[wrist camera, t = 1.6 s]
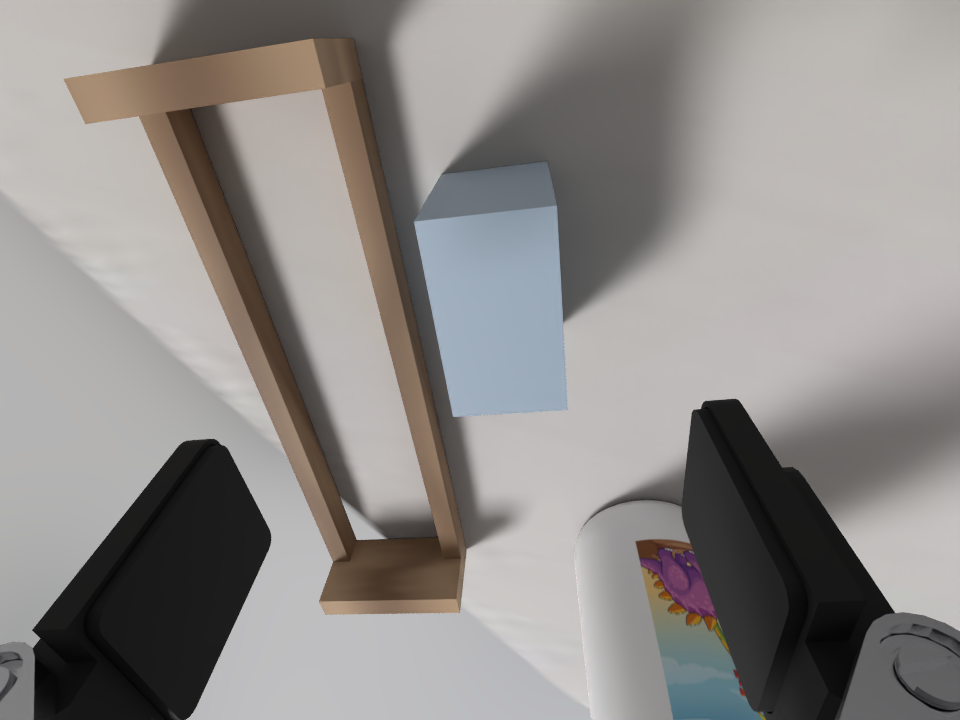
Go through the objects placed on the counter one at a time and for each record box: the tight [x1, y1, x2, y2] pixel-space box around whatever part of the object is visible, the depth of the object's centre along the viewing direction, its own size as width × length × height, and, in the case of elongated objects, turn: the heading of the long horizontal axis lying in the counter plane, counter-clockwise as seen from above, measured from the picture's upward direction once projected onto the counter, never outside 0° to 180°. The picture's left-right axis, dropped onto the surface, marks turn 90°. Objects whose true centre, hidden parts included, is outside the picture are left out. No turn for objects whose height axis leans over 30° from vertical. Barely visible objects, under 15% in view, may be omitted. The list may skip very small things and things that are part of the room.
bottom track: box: [64, 38, 466, 614], centre depth 23 cm, size 8×26×4 cm, turn 8°
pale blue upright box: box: [414, 161, 568, 417], centre depth 19 cm, size 4×7×6 cm, turn 8°
